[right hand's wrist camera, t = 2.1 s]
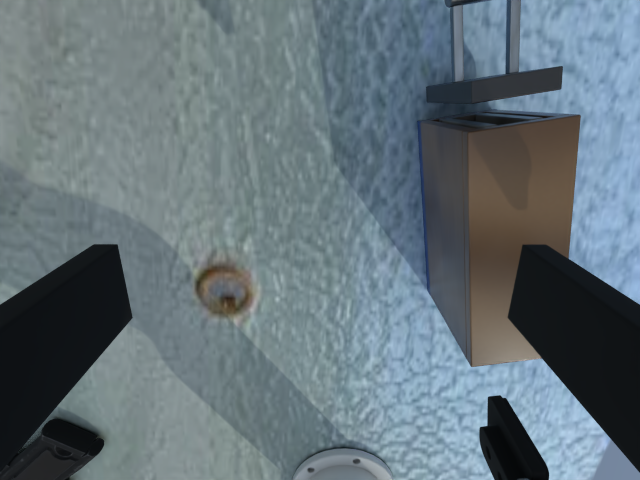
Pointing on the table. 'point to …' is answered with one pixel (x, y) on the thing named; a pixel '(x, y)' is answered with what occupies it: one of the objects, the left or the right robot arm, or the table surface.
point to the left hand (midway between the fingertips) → (596, 406)
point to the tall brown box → (492, 219)
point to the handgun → (54, 454)
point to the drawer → (491, 85)
